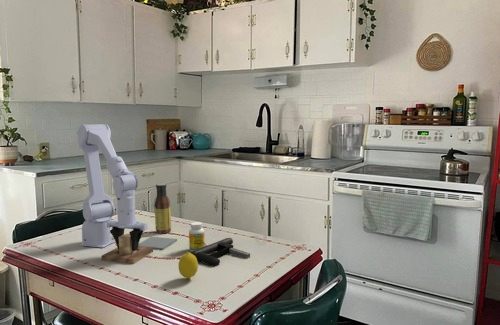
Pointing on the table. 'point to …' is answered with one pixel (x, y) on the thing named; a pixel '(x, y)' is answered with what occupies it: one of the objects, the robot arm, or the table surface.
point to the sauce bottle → (162, 210)
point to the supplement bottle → (196, 236)
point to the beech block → (125, 245)
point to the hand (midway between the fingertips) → (127, 249)
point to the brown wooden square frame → (132, 259)
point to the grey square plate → (157, 242)
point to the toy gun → (221, 248)
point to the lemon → (188, 265)
